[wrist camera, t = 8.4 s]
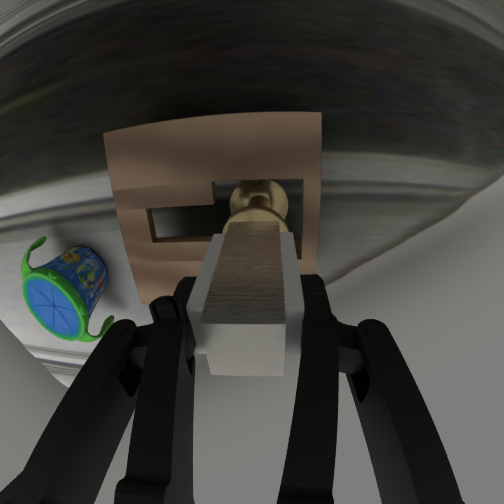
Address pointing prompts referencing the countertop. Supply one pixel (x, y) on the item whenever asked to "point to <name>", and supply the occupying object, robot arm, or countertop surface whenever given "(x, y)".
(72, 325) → the snack cup
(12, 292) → the countertop surface
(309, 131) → the keyhole bracket
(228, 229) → the hanger peg
